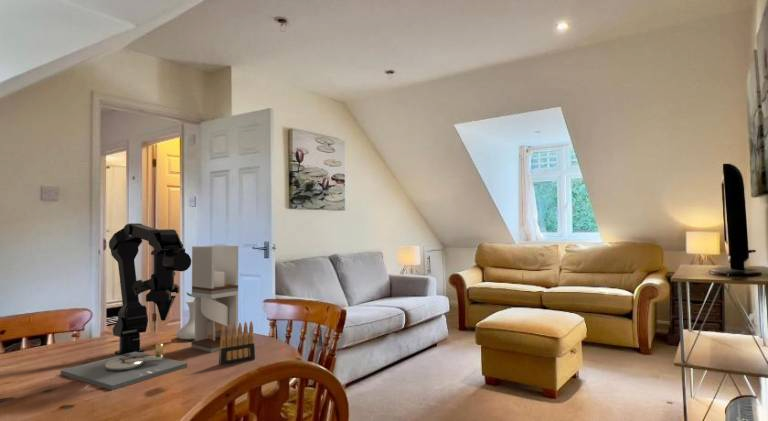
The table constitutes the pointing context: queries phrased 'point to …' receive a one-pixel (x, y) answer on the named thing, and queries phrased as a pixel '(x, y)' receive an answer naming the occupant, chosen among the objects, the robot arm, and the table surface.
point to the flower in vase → (189, 328)
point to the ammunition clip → (236, 345)
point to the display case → (214, 293)
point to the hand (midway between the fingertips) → (163, 320)
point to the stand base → (121, 372)
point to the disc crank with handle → (133, 360)
